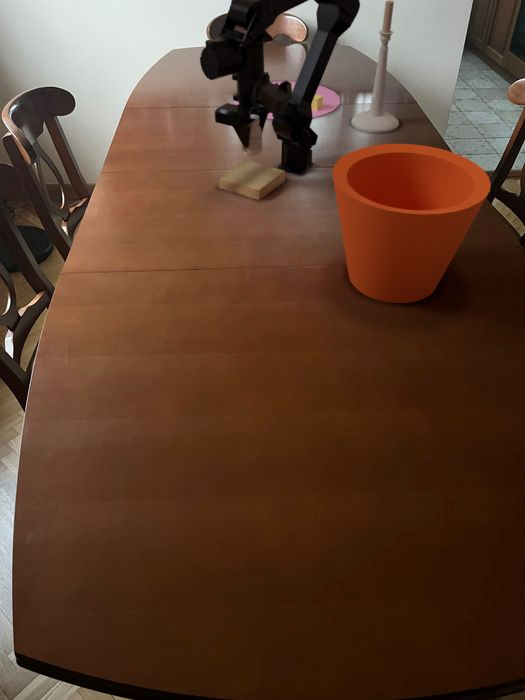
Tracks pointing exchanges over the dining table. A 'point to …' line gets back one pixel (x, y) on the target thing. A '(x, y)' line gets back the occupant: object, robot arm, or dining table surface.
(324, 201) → the dining table surface
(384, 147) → the flowerpot
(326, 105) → the platter
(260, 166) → the birch board
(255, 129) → the pill bottle
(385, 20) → the candlestick
